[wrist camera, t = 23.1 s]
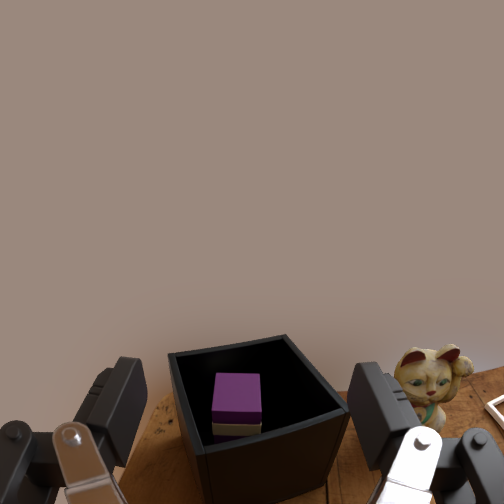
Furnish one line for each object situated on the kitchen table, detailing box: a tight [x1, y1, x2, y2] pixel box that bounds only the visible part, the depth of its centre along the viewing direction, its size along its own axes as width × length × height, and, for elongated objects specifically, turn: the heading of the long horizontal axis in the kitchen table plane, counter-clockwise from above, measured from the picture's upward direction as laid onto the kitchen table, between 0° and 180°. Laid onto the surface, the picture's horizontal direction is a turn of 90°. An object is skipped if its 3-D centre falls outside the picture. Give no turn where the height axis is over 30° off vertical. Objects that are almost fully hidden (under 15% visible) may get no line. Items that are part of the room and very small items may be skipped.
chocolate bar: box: [212, 373, 262, 444], centre depth 27 cm, size 5×4×11 cm
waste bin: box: [168, 334, 351, 504], centre depth 27 cm, size 12×12×13 cm
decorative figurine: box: [394, 344, 474, 433], centre depth 29 cm, size 10×8×15 cm
